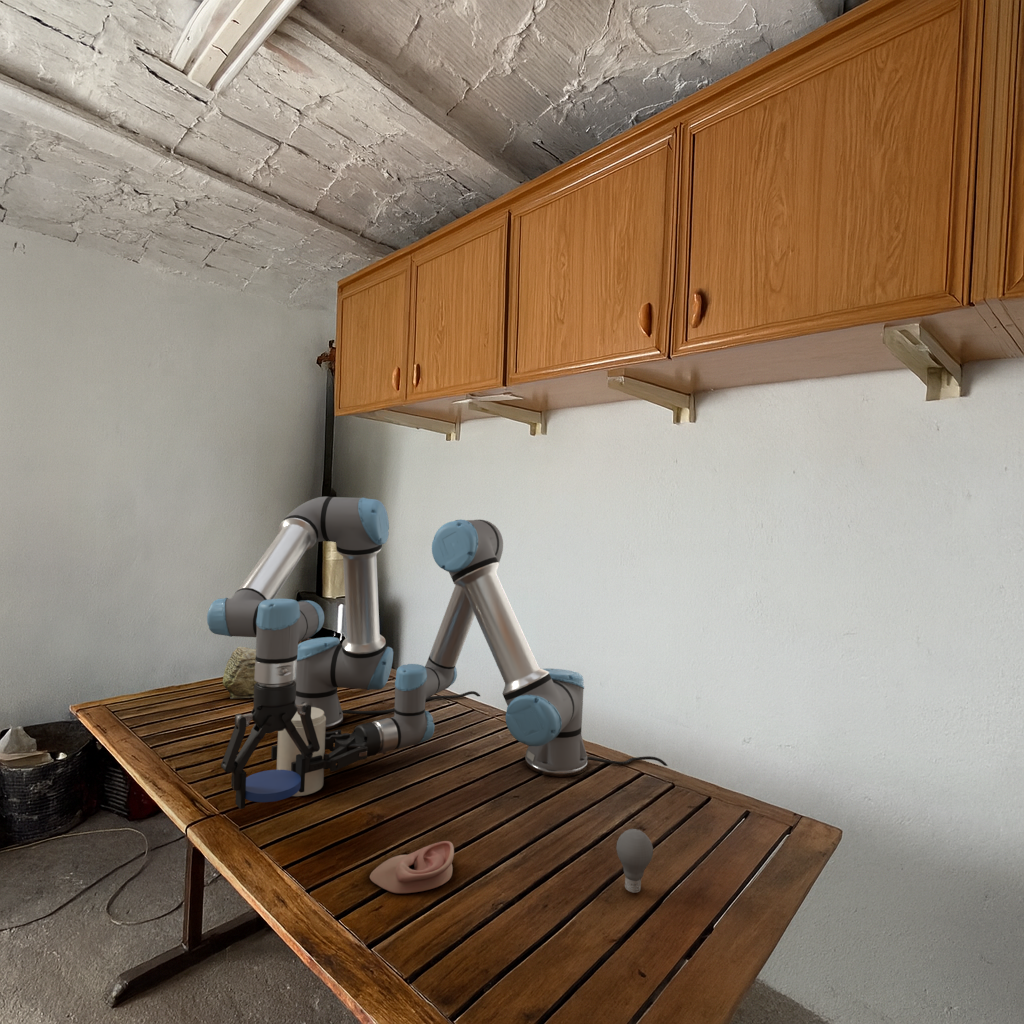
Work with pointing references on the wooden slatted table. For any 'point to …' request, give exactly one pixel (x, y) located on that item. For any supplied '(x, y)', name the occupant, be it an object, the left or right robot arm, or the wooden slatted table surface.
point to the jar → (290, 750)
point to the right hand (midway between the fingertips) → (281, 761)
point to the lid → (272, 785)
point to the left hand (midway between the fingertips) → (270, 797)
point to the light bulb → (634, 857)
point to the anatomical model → (416, 869)
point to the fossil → (240, 673)
